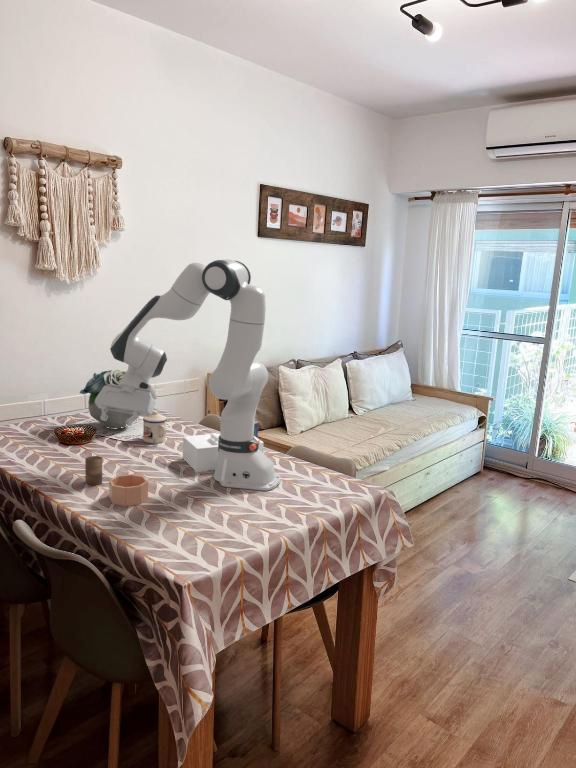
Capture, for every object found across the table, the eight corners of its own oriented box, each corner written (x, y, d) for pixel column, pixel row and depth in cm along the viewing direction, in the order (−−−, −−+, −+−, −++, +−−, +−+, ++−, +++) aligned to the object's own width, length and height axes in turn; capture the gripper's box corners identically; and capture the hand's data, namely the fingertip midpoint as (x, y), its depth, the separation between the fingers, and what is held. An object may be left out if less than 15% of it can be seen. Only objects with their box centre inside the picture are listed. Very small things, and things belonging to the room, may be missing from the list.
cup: (153, 495, 178) (153, 478, 177) (134, 508, 168) (135, 489, 167) (122, 489, 181) (122, 472, 180) (103, 501, 171) (103, 483, 170)
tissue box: (182, 459, 212) (183, 430, 210) (245, 452, 224) (247, 425, 222) (196, 473, 200) (197, 442, 197) (262, 465, 212) (264, 436, 209)
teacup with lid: (138, 439, 231) (138, 410, 229) (158, 435, 237) (159, 407, 235) (154, 447, 222) (154, 417, 220) (174, 443, 229) (175, 414, 226)
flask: (254, 441, 238) (255, 416, 235) (259, 443, 236) (261, 417, 234) (239, 446, 230) (240, 420, 228) (244, 448, 228) (246, 421, 226)
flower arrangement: (123, 439, 229) (124, 378, 224) (70, 429, 237) (70, 370, 232) (157, 424, 252) (158, 368, 247) (108, 416, 260) (108, 361, 255)
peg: (105, 481, 186) (105, 457, 185) (96, 486, 181) (96, 462, 180) (91, 479, 187) (91, 455, 186) (82, 484, 183) (82, 459, 181)
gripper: (101, 378, 200) (84, 412, 193) (155, 386, 195) (139, 422, 188) (109, 388, 205) (91, 421, 198) (161, 397, 200) (146, 431, 193)
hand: (115, 422), depth 193 cm, fingers open, 8 cm apart
